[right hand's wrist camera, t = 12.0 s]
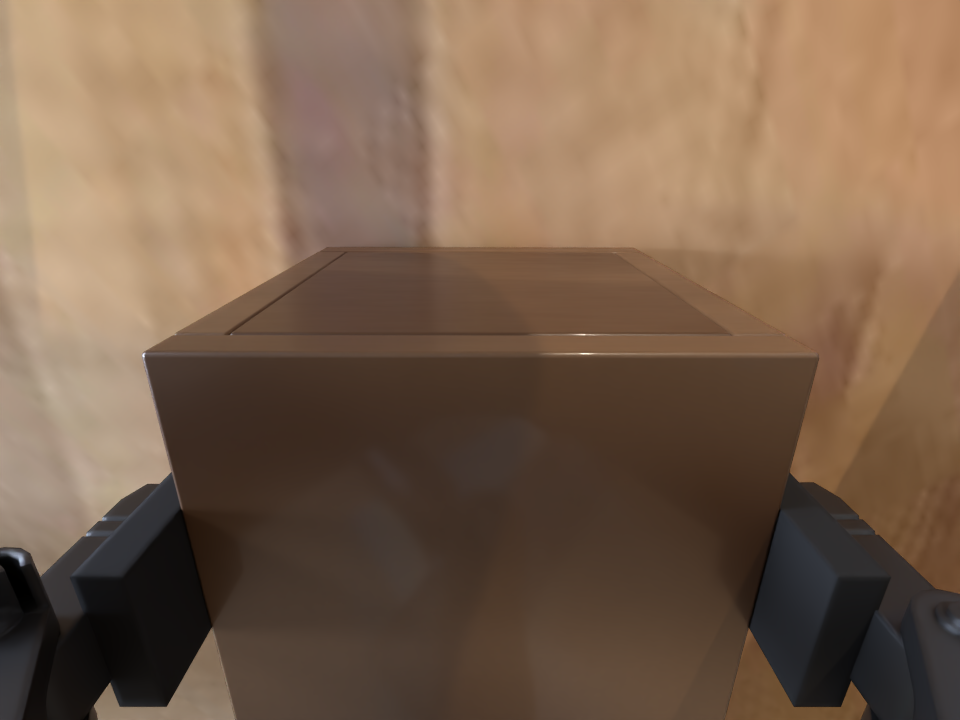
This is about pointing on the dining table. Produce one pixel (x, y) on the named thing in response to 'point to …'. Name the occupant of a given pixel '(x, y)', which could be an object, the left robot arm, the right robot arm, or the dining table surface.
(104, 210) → the dining table surface
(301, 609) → the cabinet
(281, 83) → the dining table surface
